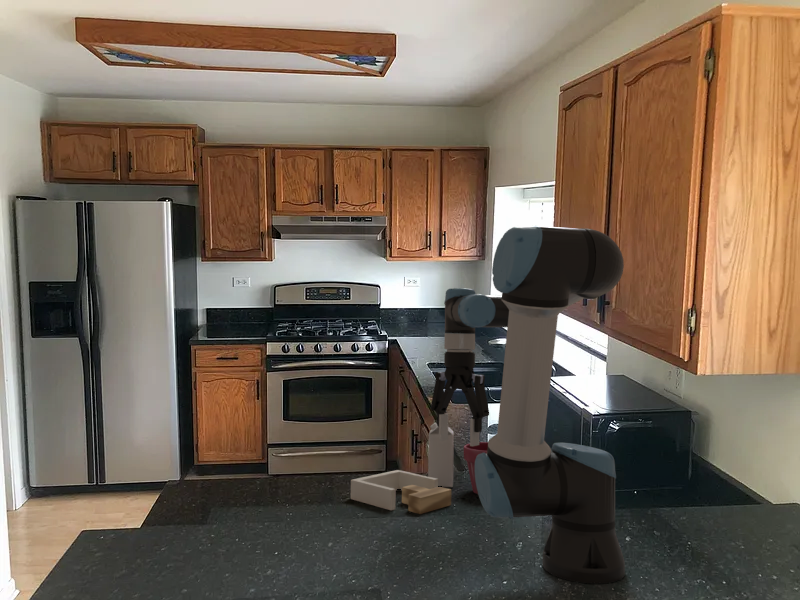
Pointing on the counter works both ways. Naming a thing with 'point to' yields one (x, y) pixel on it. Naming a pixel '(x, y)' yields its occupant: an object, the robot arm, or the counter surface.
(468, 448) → the plant pot
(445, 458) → the milk carton
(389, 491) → the bay
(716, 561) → the counter surface
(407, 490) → the tee
